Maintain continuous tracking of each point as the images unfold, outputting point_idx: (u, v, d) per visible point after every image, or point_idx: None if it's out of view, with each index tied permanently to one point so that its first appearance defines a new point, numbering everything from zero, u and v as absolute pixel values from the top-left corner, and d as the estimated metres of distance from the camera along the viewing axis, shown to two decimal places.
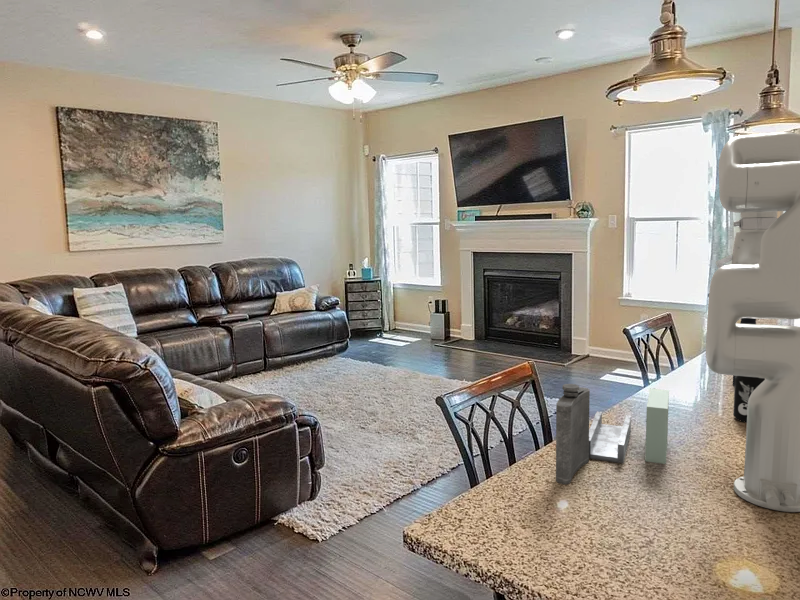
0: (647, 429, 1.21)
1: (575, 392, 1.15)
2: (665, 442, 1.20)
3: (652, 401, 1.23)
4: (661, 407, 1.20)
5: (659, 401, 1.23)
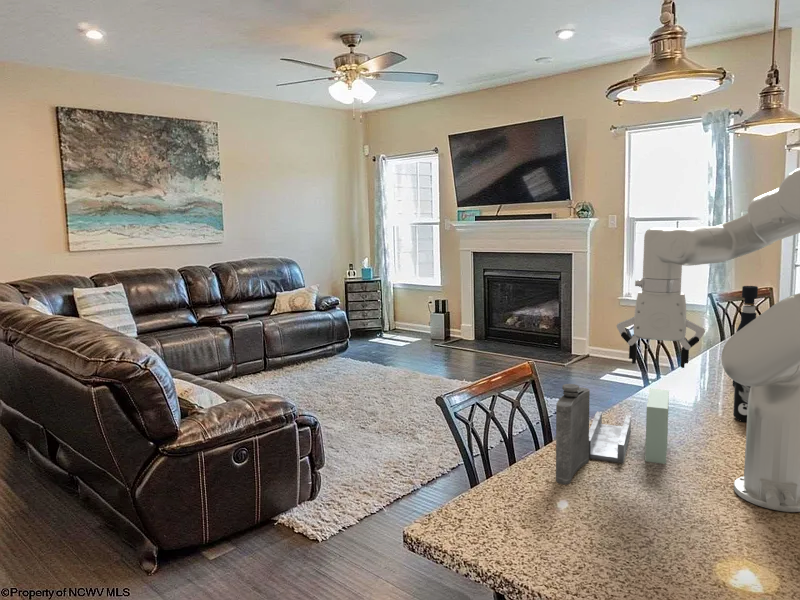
0: (647, 429, 1.21)
1: (575, 392, 1.15)
2: (665, 442, 1.20)
3: (652, 401, 1.23)
4: (661, 407, 1.20)
5: (659, 401, 1.23)
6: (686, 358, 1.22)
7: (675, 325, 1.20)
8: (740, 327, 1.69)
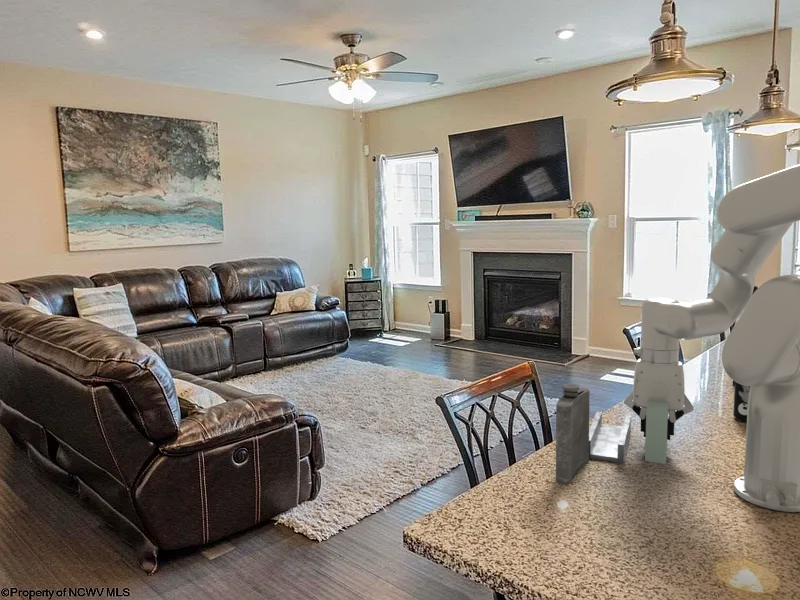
0: (647, 429, 1.21)
1: (575, 392, 1.15)
2: (665, 442, 1.20)
3: (652, 401, 1.23)
4: (661, 407, 1.20)
5: None
6: (671, 430, 1.25)
7: (673, 395, 1.22)
8: None
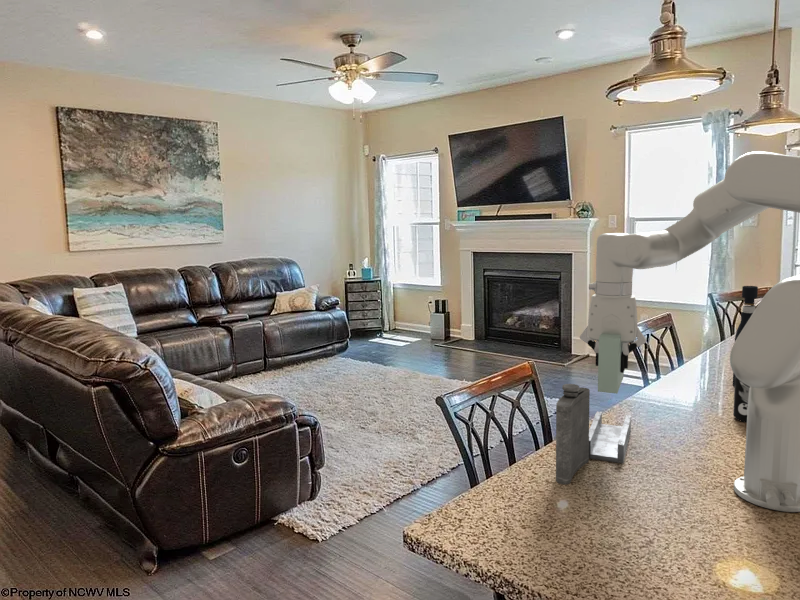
0: (599, 359, 1.23)
1: (575, 392, 1.15)
2: (616, 372, 1.22)
3: None
4: (613, 337, 1.22)
5: None
6: (625, 363, 1.27)
7: (626, 327, 1.24)
8: (740, 327, 1.69)
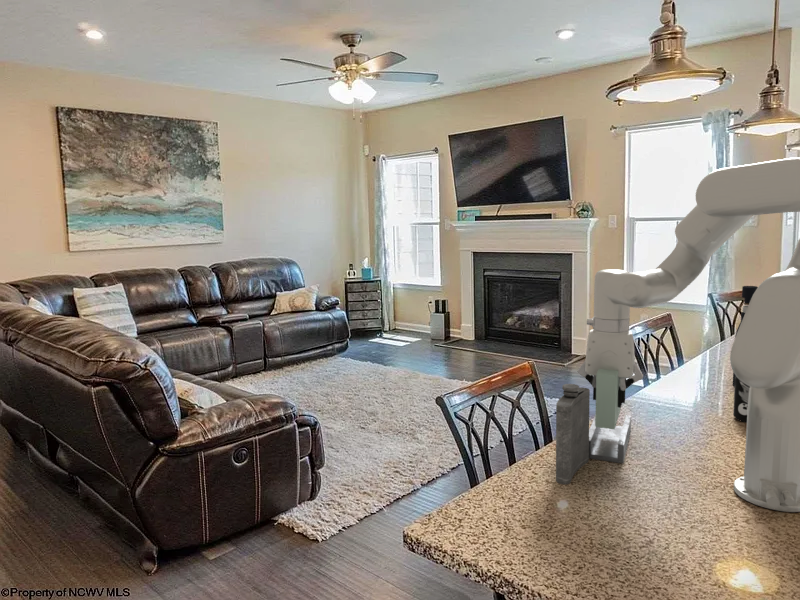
0: (597, 395, 1.25)
1: (575, 392, 1.15)
2: (614, 408, 1.23)
3: (603, 369, 1.27)
4: (610, 374, 1.23)
5: None
6: (622, 398, 1.28)
7: (623, 363, 1.25)
8: None
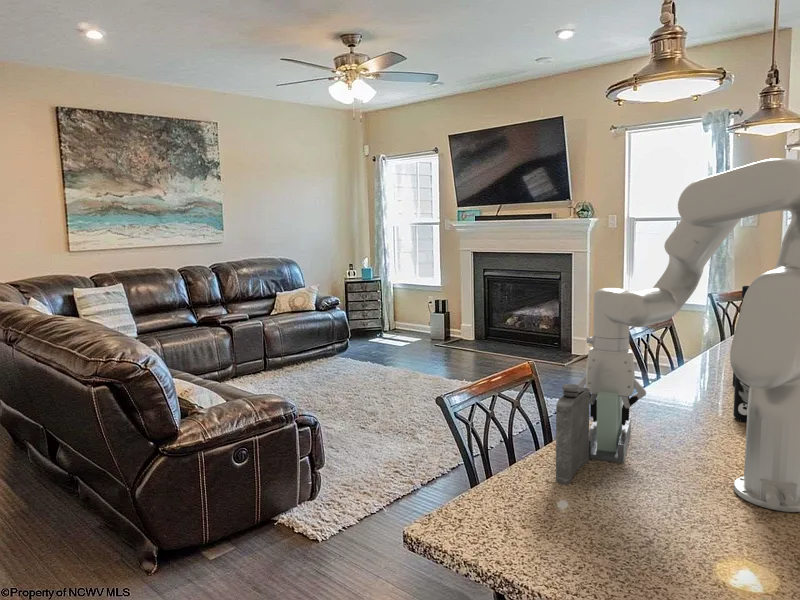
0: (598, 418, 1.25)
1: (575, 392, 1.15)
2: (615, 431, 1.24)
3: None
4: (610, 397, 1.24)
5: None
6: (626, 415, 1.28)
7: (623, 382, 1.26)
8: None
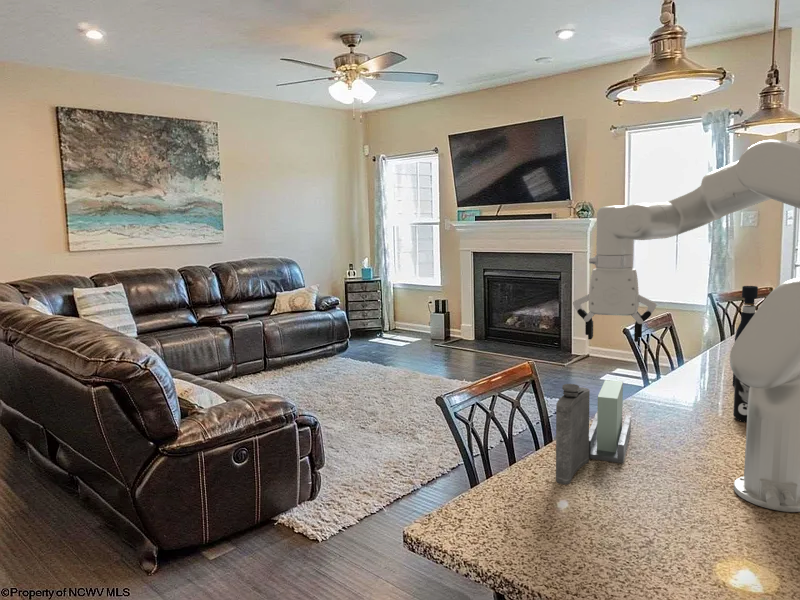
0: (598, 418, 1.25)
1: (575, 392, 1.15)
2: (615, 431, 1.24)
3: (604, 392, 1.28)
4: (611, 397, 1.24)
5: (611, 392, 1.27)
6: (639, 332, 1.25)
7: (627, 300, 1.23)
8: (740, 327, 1.69)
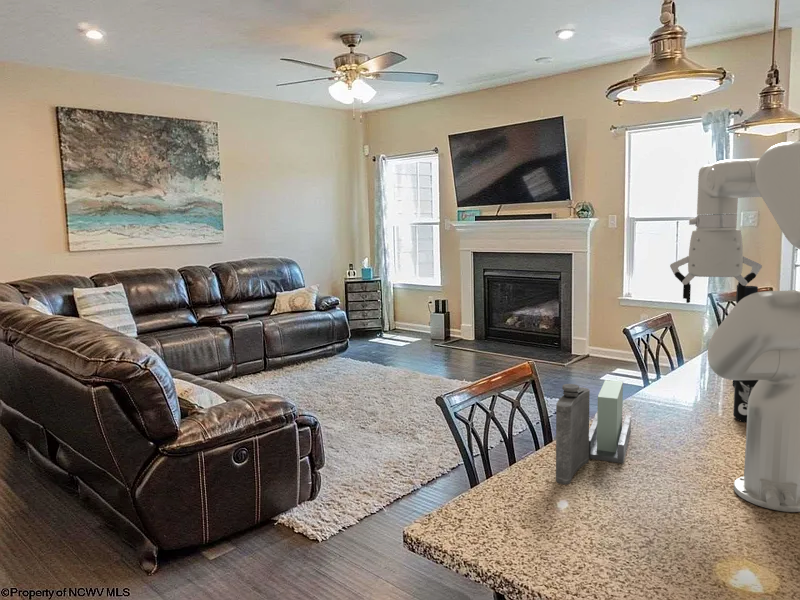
0: (598, 418, 1.25)
1: (575, 392, 1.15)
2: (615, 431, 1.24)
3: (604, 392, 1.28)
4: (611, 397, 1.24)
5: (611, 392, 1.27)
6: (742, 294, 1.21)
7: (732, 261, 1.20)
8: None
